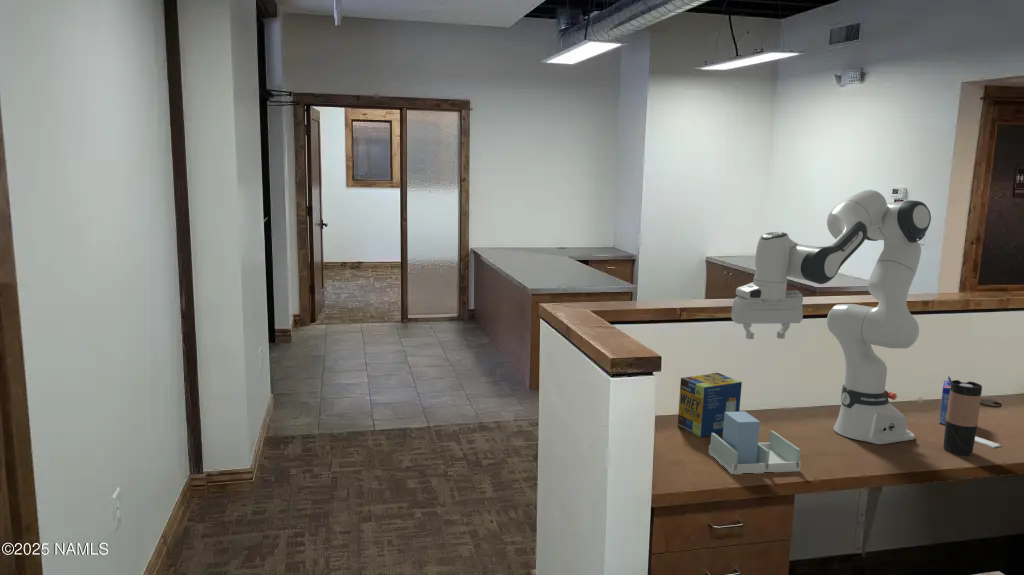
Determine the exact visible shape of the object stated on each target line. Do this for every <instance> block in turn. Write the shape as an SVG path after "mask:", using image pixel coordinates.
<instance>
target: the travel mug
mask: <svg viewBox="0 0 1024 575" xmlns="http://www.w3.org/2000/svg"><path fill="white" fill-rule="evenodd" d="M951 381H952V382H951V387H950V394H949V401H948V408H947V415H946V424H944V436H943V450H944V451H946V452H947V453H950V454H953V455H957V456H965V457H966V456H967V457H968V456H972V454H973V451H974V445H975V436H977V435H976V434H977V429H978V422H979V413H980V406H981V399H982V392H983V386H982V385H981V384H980V383H977V382H974V381H967V382H962V381H960V380H959V379H956V380H955V379H954V380H951Z"/></svg>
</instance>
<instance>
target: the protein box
mask: <svg viewBox="0 0 1024 575" xmlns="http://www.w3.org/2000/svg"><path fill="white" fill-rule="evenodd" d="M679 383H680V385H679V399H678V412H677V413H678V415H677V416H678V417H677V427H678V428H679V427H680V428H681V429H683V430H686V431H687V432H689V433H691V434H693V435H695V436H697V437H699V438H704V437H709V436H711V433H715V434H716V435H720V434H723V425H724V413H725V412H740V409H741V408H740V407H741V396H742V386H743V385H742V383H743V381H740V380H737V379H735V378H733V377H730V376H727V375H725V374H722V373H720V372H712V373H706V374H701V375H700V374H699V375H694V376H693V375H691V376H686V377H680V382H679Z"/></svg>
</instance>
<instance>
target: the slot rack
mask: <svg viewBox="0 0 1024 575" xmlns="http://www.w3.org/2000/svg"><path fill="white" fill-rule="evenodd" d="M708 453H709V454H708V455H709V456H711V457H712V456H713V457H714V458H715V459H716V460H717V461H718V462H719V463H718V462H717V461H716V460H715V459H714V458H713V457H712V458H713V459H714V460H715V461H716V462H717V463H718V464H719V465H721V466H722V465H723V466H724V467H725V468H726V469H727V470H728V473H730V474H731V475H732V474H735V475H743V474H742V473H754V474H765V473H764V472H774V473H788V472H789V473H793V472H800V471H801V463H802V462H801V461H800V459H801V449H800V448H799V447H798V446H796V445H794V444H793V443H792V442H791V441H788V439H786V438H784V437H783V436H782V435H780V434H778V433H777V432H776V431H774V430H769V440H768V442H758V449H757V461H756V463H754V464H737V461H738V452H737V451H736V450H735V449H733V448H732V447H731V446H730V445H728V444H727V443H726V442H725V441H724V440H722V438H721V437H720V436H719V435H718V434H715V433H711V435H710V444H709V445H708ZM723 466H722V467H723ZM724 467H723V468H724ZM725 468H724V469H725ZM726 469H725V470H726Z"/></svg>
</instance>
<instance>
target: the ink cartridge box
mask: <svg viewBox="0 0 1024 575" xmlns="http://www.w3.org/2000/svg"><path fill="white" fill-rule="evenodd" d="M947 379H948V380H944V381H943V386H942V391H941V403H940V409H939V410H940V412H939V422H940V423H942V424H941V425H945V424H946V415H947V408H948V401H949V394H950V387H951V382H952V381H953V380H952V379H951V376H949V375H948V376H947ZM940 423H939V424H940Z"/></svg>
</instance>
